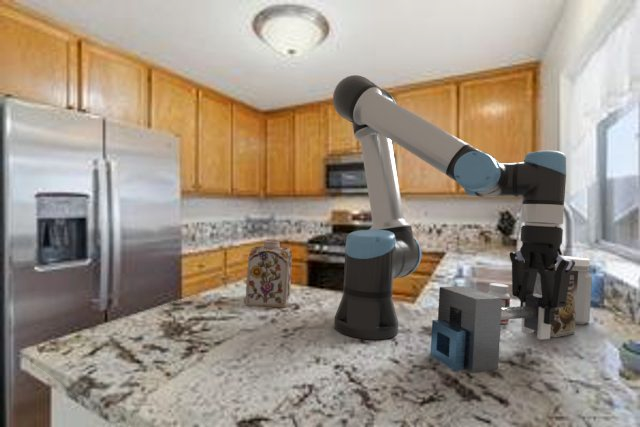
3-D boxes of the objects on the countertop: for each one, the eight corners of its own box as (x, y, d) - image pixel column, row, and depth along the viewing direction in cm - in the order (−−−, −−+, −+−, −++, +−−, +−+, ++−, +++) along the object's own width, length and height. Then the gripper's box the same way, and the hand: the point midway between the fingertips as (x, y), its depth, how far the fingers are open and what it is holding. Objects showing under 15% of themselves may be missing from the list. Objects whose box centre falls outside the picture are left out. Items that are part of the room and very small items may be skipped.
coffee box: (555, 338, 84) (559, 271, 84) (528, 329, 90) (532, 266, 90) (576, 334, 88) (579, 270, 88) (549, 325, 94) (552, 265, 94)
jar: (552, 321, 98) (556, 257, 98) (545, 312, 107) (548, 254, 107) (595, 327, 95) (599, 261, 94) (583, 318, 104) (586, 257, 104)
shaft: (471, 336, 67) (473, 300, 67) (460, 331, 70) (462, 296, 70) (547, 330, 73) (549, 297, 73) (534, 325, 76) (536, 293, 76)
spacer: (454, 370, 63) (456, 332, 63) (430, 355, 70) (432, 320, 70) (463, 369, 64) (465, 331, 64) (438, 354, 70) (440, 319, 70)
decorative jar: (286, 308, 97) (289, 244, 97) (244, 306, 98) (247, 241, 97) (290, 298, 109) (293, 240, 109) (253, 295, 109) (256, 238, 109)
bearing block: (472, 372, 63) (476, 299, 63) (436, 350, 72) (439, 286, 72) (498, 369, 65) (502, 298, 65) (459, 348, 74) (463, 286, 74)
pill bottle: (511, 325, 93) (513, 287, 93) (488, 322, 94) (490, 285, 94) (504, 319, 98) (506, 283, 98) (483, 316, 99) (485, 281, 99)
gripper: (594, 228, 68) (587, 348, 68) (521, 223, 83) (516, 322, 83) (566, 226, 65) (559, 351, 66) (497, 222, 81) (491, 324, 81)
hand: (535, 335), depth 74 cm, fingers closed on shaft, 3 cm apart
